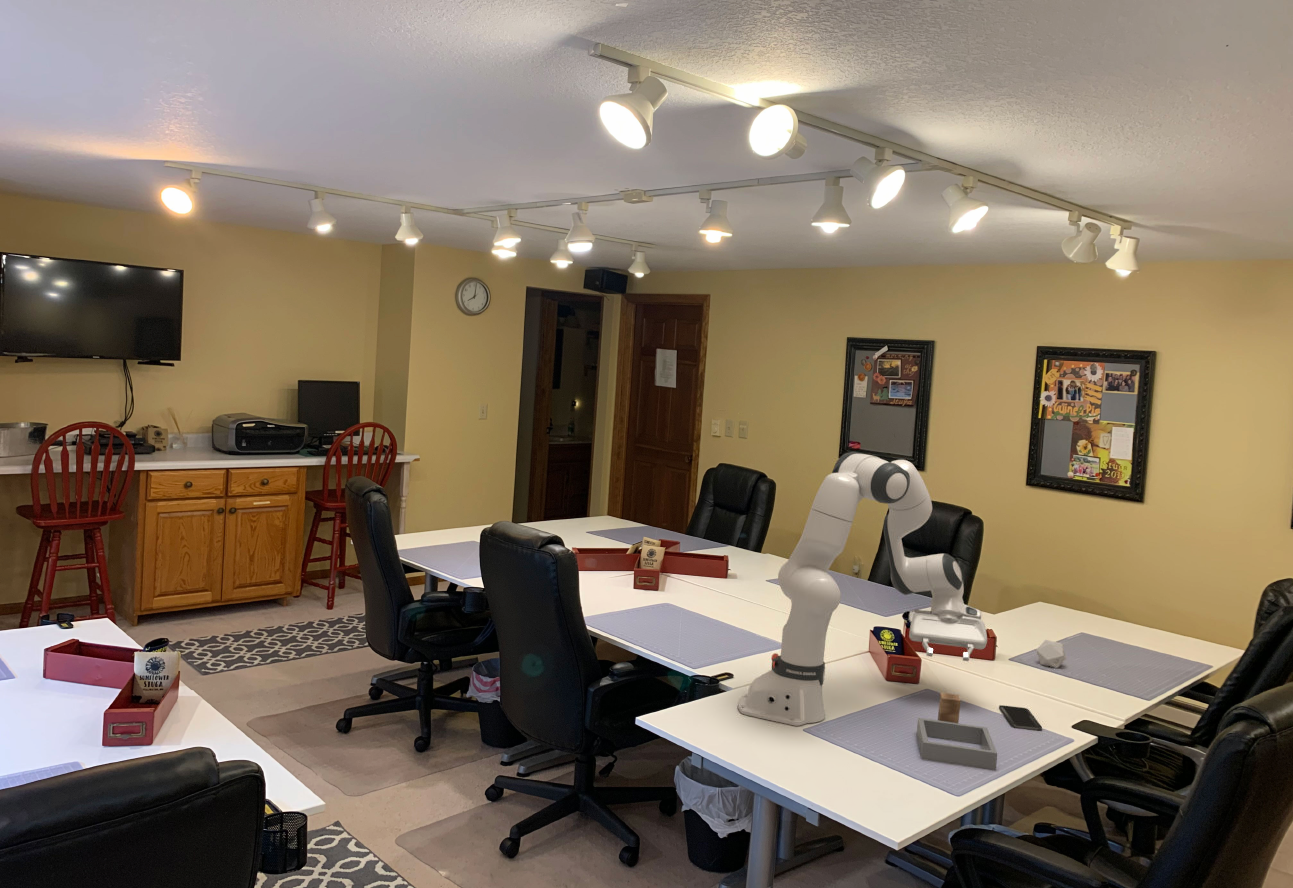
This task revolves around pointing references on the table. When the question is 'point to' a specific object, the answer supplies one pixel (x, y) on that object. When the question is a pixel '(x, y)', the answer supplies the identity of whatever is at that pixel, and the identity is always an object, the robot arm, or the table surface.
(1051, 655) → the die
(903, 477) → the robot arm
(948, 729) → the box
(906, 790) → the table surface
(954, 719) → the walnut block
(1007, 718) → the phone
